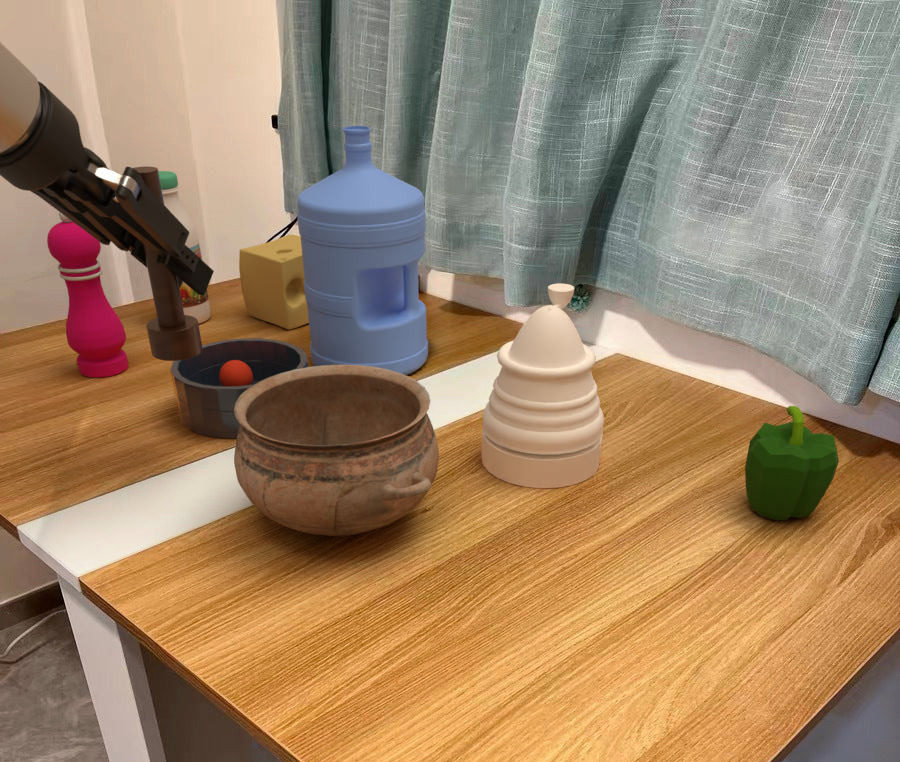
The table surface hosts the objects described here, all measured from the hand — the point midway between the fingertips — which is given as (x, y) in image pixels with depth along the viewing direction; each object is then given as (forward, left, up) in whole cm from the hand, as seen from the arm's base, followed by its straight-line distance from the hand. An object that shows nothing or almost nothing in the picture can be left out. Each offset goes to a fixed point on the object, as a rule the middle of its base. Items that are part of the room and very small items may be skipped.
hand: (193, 280), depth 89 cm
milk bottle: (-7, +43, -18) cm, 47 cm away
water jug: (+19, +22, -18) cm, 34 cm away
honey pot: (+35, -9, -18) cm, 40 cm away
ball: (+2, +12, -15) cm, 19 cm away
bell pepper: (+56, -23, -18) cm, 63 cm away
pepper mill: (-16, +25, -18) cm, 35 cm away
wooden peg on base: (-2, -3, -6) cm, 7 cm away
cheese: (+9, +42, -18) cm, 46 cm away
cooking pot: (+13, -18, -18) cm, 29 cm away
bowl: (+3, +9, -18) cm, 20 cm away
